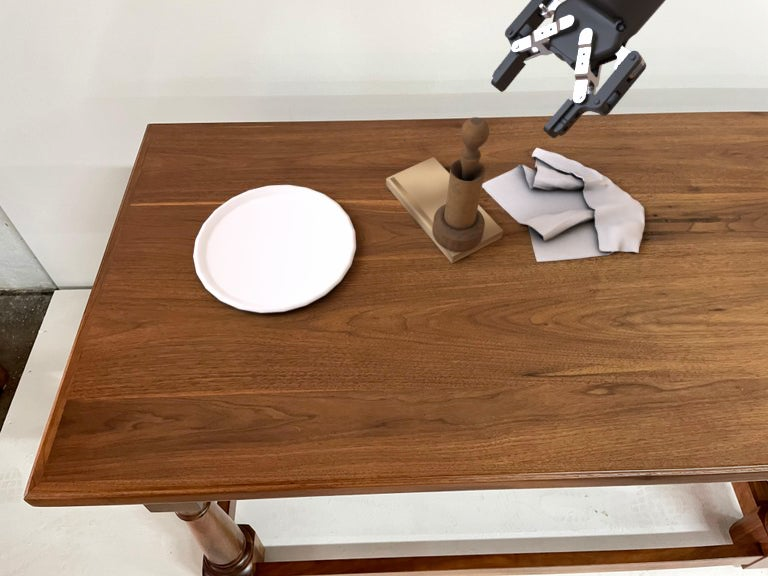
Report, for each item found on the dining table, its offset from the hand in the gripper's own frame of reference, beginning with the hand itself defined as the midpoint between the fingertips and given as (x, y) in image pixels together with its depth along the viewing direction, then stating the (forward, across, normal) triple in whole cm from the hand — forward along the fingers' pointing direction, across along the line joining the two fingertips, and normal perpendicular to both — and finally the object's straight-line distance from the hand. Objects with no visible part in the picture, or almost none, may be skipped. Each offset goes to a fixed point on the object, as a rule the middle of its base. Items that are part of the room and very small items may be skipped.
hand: (521, 110), depth 63 cm
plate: (+32, -13, -3) cm, 35 cm away
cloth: (+6, +1, +23) cm, 24 cm away
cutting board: (+17, -7, +12) cm, 22 cm away
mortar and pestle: (+17, -2, +10) cm, 20 cm away
